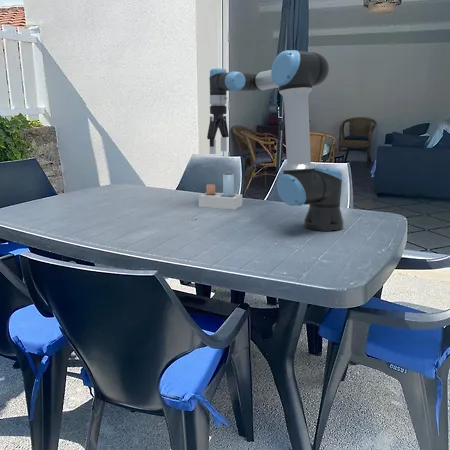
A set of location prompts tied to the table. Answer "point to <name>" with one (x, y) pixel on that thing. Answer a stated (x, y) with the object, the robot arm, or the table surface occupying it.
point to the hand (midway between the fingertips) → (218, 152)
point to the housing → (220, 201)
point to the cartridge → (228, 184)
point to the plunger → (210, 189)
